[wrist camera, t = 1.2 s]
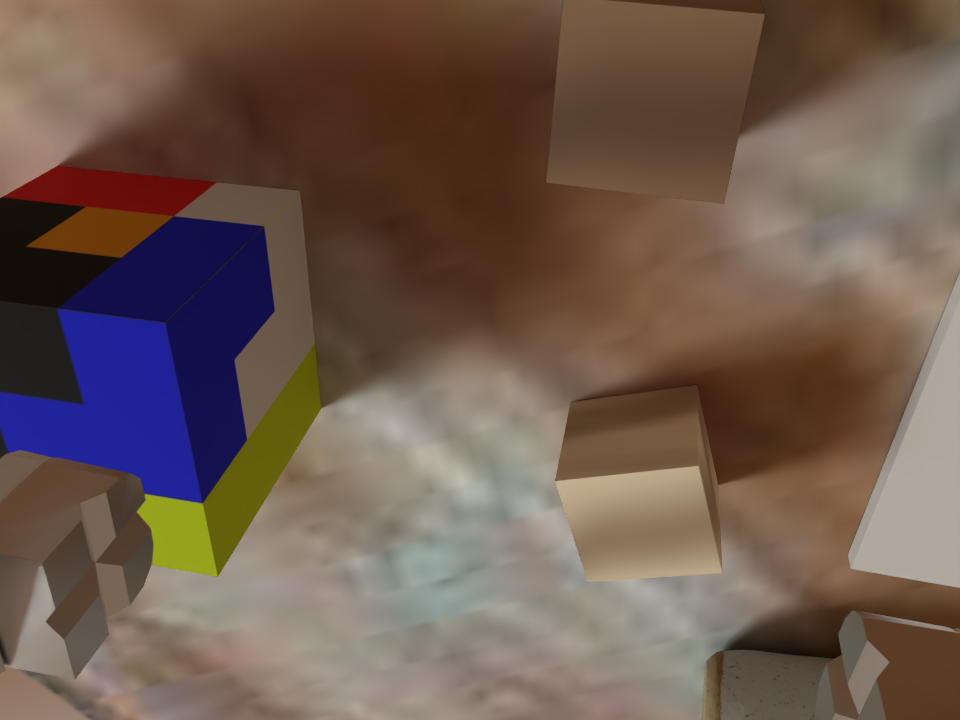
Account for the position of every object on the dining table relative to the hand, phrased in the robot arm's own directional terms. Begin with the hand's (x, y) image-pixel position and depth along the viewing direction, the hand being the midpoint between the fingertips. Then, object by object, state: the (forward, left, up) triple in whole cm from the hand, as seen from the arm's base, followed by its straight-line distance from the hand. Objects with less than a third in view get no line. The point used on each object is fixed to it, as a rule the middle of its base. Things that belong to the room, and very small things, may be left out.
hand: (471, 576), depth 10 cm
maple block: (+14, +3, -22) cm, 26 cm away
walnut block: (-1, +1, -22) cm, 22 cm away
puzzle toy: (+10, -16, -22) cm, 29 cm away
